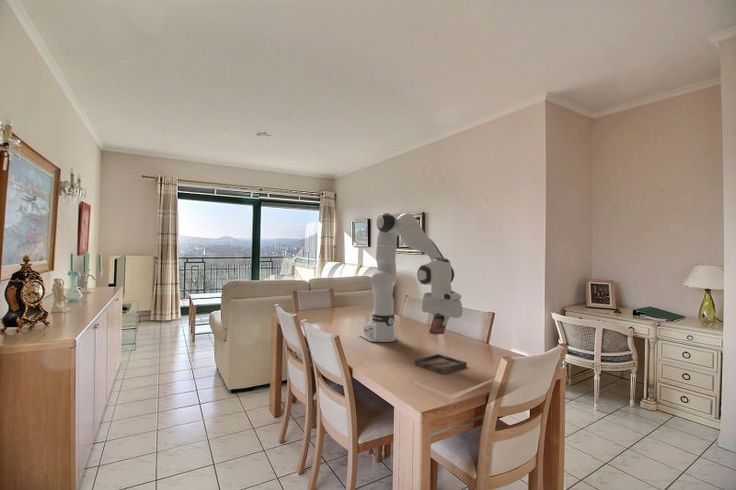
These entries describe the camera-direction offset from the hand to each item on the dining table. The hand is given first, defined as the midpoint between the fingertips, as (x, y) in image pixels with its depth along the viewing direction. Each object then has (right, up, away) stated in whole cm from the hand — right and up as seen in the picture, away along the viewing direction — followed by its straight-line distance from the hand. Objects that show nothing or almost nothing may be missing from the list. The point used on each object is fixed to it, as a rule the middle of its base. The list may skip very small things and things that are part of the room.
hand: (440, 324), depth 157 cm
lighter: (-2, -4, +2) cm, 5 cm away
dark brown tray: (0, -18, 0) cm, 18 cm away
